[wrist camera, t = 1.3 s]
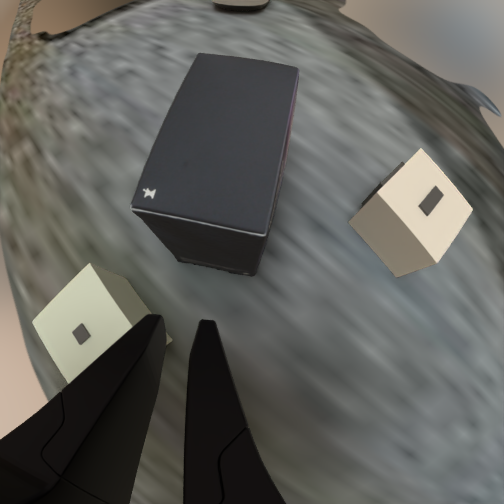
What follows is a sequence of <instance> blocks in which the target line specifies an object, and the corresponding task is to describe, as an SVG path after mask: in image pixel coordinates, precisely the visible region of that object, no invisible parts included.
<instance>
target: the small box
mask: <svg viewBox="0 0 504 504" xmlns="http://www.w3.org/2000/svg"><path fill="white" fill-rule="evenodd" d="M298 78H299V68H297V67H293V66H288V65H284V64H279V63H274V62H268V61H263V60H255V59H249V58H241V57H234V56H224V55H215V54H205V53H198V54H197V56H196V58H195V60H194V62H193V63H192V65H191V67H190V69H189V71H188V73H187V74H186V76H185V78H184V80H183V82H182V84H181V86H180V88H179V90H178V92H177V94H176V96H175V98H174V100H173V102H172V104H171V106H170V108H169V110H168V112H167V115H166V117H165V119H164V121H163V123H162V126H161V128H160V130H159V132H158V135H157V137H156V139H155V141H154V144H153V146H152V149H151V151H150V154H149V156H148V158H147V161H146V163H145V166H144V168H143V171H142V173H141V176H140V179H139V181H138V184H137V187H136V190H135V192H134V195H133V198H132V201H131V204H130V208H131V210H132V211H133V213H135V214H136V215H137V216H138V217H140V218H141V219H142V220H143V221H144V222H145V224H146V225H147V226H148V227H149V228H150V229H151V230H152V231H153V233H154V234H155V235H156V236H157V237H158V238H159V239H160V240H161V242H162V243H163V244H164V245H165V246H166V247H167V248H168V249H169V250H170V251H171V252H172V254H173V255H174V256H175V258H176V259H177V261H181V262H184V263H193V264H194V265H196V264H198V265H202V266H206V267H211V268H216V269H218V270H224V271H228V272H229V273H234V274H242V275H249V276H254V275H255V273H256V271H257V268H258V265H259V263H260V260H261V257H262V254H263V251H264V248H265V245H266V241H267V238H268V235H269V231H270V228H271V224H272V221H273V217H274V213H275V209H276V205H277V200H278V196H279V192H280V188H281V183H282V179H283V174H284V170H285V165H286V160H287V154H288V147H289V141H290V135H291V129H292V123H293V117H294V110H295V103H296V96H297V87H298Z"/></svg>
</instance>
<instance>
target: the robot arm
mask: <svg viewBox="0 0 504 504" xmlns="http://www.w3.org/2000/svg"><path fill="white" fill-rule="evenodd" d="M166 343H167V335H166V330H165V325H164V319H163V317H162V316H161V315H156V314H147V315H145V316H144V317H143V318H142V319H141V320H140V321H139V322H137V323H136V324H135V325H134V326H133V327H132V328H131V329H129V330H128V331H127V332H126V333H125V334H124V335H123V336H121V337H120V338H119V339H118V340H117V341H116V342H115V343H114V344H112V345H111V346H110V347H109V348H108V349H107V350H106V351H105V352H103V353H102V354H101V355H100V356H99V357H98V358H97V359H96V360H94V361H93V362H92V363H91V364H90V365H89V366H88V367H87V368H86V369H84V370H83V371H82V372H81V373H80V374H79V375H78V376H77V377H76V378H75V379H73V380H72V381H71V382H70V383H69V384H68V385H67V386H66V387H65V388H64V389H62V392H59V393H58V394H57V395H56V396H55V397H54V398H52V399H51V400H50V401H49V402H48V403H47V404H46V405H45V406H43V407H42V408H41V409H40V410H39V411H38V412H37V413H35V414H34V415H33V416H31V417H30V418H29V419H27V420H26V421H25V422H24V423H22V424H21V425H20V426H18V427H17V428H15V429H14V430H13V431H11V432H10V433H9V434H7V435H6V436H4V437H3V438H2V439H0V504H129V503H130V499H131V494H132V490H133V486H134V482H135V477H136V473H137V469H138V465H139V461H140V457H141V453H142V449H143V445H144V442H145V438H146V434H147V430H148V427H149V423H150V419H151V416H152V412H153V408H154V405H155V401H156V398H157V394H158V390H159V384H160V378H161V372H162V366H163V360H164V354H165V349H166ZM183 504H286V503H285V501H284V499H283V498H282V496H281V494H280V493H279V491H278V489H277V488H276V486H275V484H274V482H273V481H272V479H271V477H270V475H269V473H268V471H267V469H266V467H265V466H264V464H263V462H262V460H261V457H260V455H259V452H258V450H257V447H256V445H255V442H254V440H253V437H252V434H251V431H250V428H248V423H247V420H246V417H245V414H244V411H243V408H242V405H241V402H240V399H239V396H238V393H237V390H236V387H235V384H234V380H233V377H232V374H231V371H230V368H229V365H228V361H227V358H226V355H225V352H224V348H223V345H222V342H221V338H220V335H219V331H218V328H217V325H216V322H215V321H214V320H203V319H202V320H200V322H199V324H198V328H197V331H196V335H195V338H194V342H193V345H192V349H191V353H190V358H189V368H188V382H187V398H186V417H185V441H184V481H183Z"/></svg>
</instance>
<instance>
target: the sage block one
mask: <svg viewBox="0 0 504 504" xmlns="http://www.w3.org/2000/svg"><path fill="white" fill-rule="evenodd" d="M147 314H152V313H151V312H150V311H149V309H148V308H147V307H146V305H145V304H144V303H143V301H142V300H141V298H140V297H139V296H138V294H137V293H136V292H135V290H134V289H133V287H132V286H131V285H130V283H129V282H128V280H127V279H126V278H125V277H122V276H120V275H117V274H115V273H112V272H110V271H108V270H105V269H103V268H100V267H98V266H96V265H93V264H91V263H89V264H88V265H87V266H86V267H85V268H84V269H83V270H82V271H81V272H80V273H79V274H78V275H77V276H76V277H75V278H74V279H73V280H72V281H71V282H70V283H69V284H68V285H67V286H66V287H65V288H64V289H63V290H62V291H61V292H60V293H59V294H58V295H57V296H56V297H55V298H54V299H53V300H52V301H51V302H50V303H49V304H48V305H47V306H46V307H45V308H44V309H43V310H42V312H41V313H40V314H39V315H38V316H37V317H36V318H35V319H34V320H33V321H32V323H33V325H34V327H35V329H36V330H37V332H38V334H39V336H40V338H41V340H42V341H43V343H44V345H45V347H46V348H47V350H48V352H49V354H50V355H51V357H52V359H53V360H54V362H55V363H56V365H57V367H58V368H59V370H60V371H61V373H62V374H63V376H64V378H65V379H66V381H67V382H68V383H70V382H71V381H72V380H73V379H75V378H76V377H77V376H78V375H79V374H80V373H81V372H82V371H83V370H84V369H86V368H87V367H88V366H89V365H90V364H91V363H92V362H93V361H94V360H96V359H97V358H98V357H99V356H100V355H101V354H102V353H103V352H105V351H106V350H107V349H108V348H109V347H110V346H111V345H112V344H114V343H115V342H116V341H117V340H118V339H119V338H120V337H121V336H123V335H124V334H125V333H126V332H127V331H128V330H129V329H131V328H132V327H133V326H134V325H135V324H136V323H137V322H139V321H140V320H141V319H142V318H143V317H144V316H145V315H147ZM166 335H167V343H166V345H168V344H169V343H170V342H171V341H172V339H171V337H170V336H169V335H168V334H167V332H166Z"/></svg>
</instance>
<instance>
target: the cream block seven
mask: <svg viewBox="0 0 504 504" xmlns="http://www.w3.org/2000/svg"><path fill="white" fill-rule="evenodd" d="M362 204H363V207H362V208H361V209H360V210H359V211H358V212H357V213H356V215H355V216H354V217H353V218H352V219H351V220H350V221H349V222H348V223H349V224H350V225H351V226H352V227H353V229H354V230H355V231H356V232H357V233H358V234H359V235H360V236H361V237H362V239H363V240H364V241H365V242H366V243H367V244H368V245H369V246H370V248H371V249H372V250H373V251H374V252H375V253H376V254H377V256H378V257H379V258H380V259H381V260H382V261H383V263H384V264H385V265H386V266H387V267H388V268H389V270H390V271H391V272H392V273H393V274H394V276H395V277H396V278H397V277H400V276H403V275H406V274H409V273H412V272H414V271H417V270H420V269H423V268H426V267H429V266H431V265H434V264H437V263H438V261H439V260H440V259H441V257H442V256H443V254H444V253H445V252H446V250H447V249H448V247H449V246H450V244H451V243H452V241H453V240H454V239H455V237H456V236H457V234H458V232H459V231H460V229H461V228H462V226H463V225H464V223H465V222H466V220H467V218H468V217H469V215H470V214H471V212H472V210H473V209H472V208H471V206H470V205H469V204H468V202H467V201H466V200H465V198H464V197H463V196H462V195H461V193H460V192H459V191H458V190H457V188H456V187H455V186H454V185H453V184H452V182H451V181H450V180H449V179H448V178H447V176H446V175H445V174H444V173H443V172H442V171H441V169H440V168H439V167H438V166H437V165H436V164H435V163H434V162H433V161H432V159H431V158H430V157H429V156H428V155H427V154H426V153H425V152H424V151H423V150H422V149H421V148H420V150H419V151H418V152H417V153H416V154H415V155H414V156H413V157H412V158H411V159H410V160H409V161H408V162H407V163H406V164H404V163H403V162H401V163H400V164H399V165H398V166H397V167H396V168H395V169H394V170H393V171H392V172H391V173H390V174H389V175H388V176H387V177H386V178H385V179H384V180H383V181H382V182H381V183H380V184H379V185H378V186H377V187H376V188H375V189H374V191H373V192H372V193H371V194H370V195H369V196H368V197H367V198H366V199H365V200H364V201H363V203H362Z"/></svg>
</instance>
